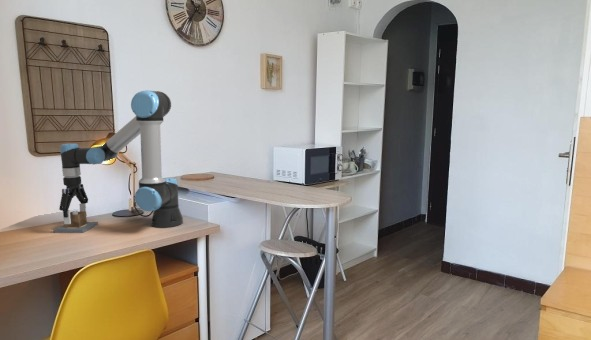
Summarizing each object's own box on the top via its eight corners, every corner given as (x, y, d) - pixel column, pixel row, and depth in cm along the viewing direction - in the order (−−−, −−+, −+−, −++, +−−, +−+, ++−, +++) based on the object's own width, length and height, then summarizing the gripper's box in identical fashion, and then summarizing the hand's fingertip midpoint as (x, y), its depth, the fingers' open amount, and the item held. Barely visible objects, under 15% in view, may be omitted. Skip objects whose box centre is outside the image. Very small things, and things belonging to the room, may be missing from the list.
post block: (98, 224, 214) (96, 208, 213) (82, 232, 200) (81, 215, 199) (70, 224, 215) (69, 208, 214) (53, 232, 201) (51, 215, 200)
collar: (87, 223, 211) (85, 211, 210) (79, 227, 204) (78, 215, 203) (73, 223, 211) (72, 211, 210) (64, 227, 204) (63, 215, 203)
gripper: (78, 172, 217) (82, 213, 220) (47, 180, 192) (52, 227, 195) (93, 172, 216) (96, 213, 219) (64, 180, 191) (68, 227, 194)
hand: (75, 220), depth 207 cm, fingers open, 13 cm apart
